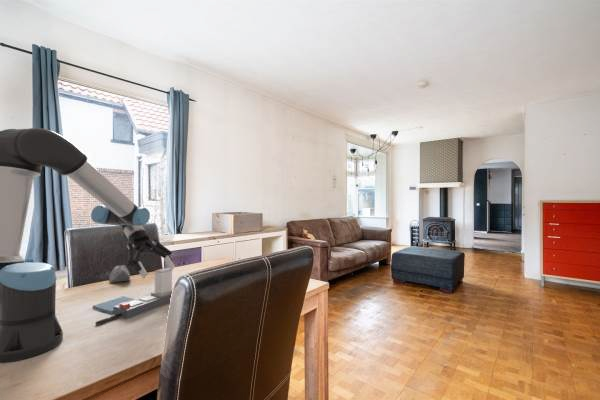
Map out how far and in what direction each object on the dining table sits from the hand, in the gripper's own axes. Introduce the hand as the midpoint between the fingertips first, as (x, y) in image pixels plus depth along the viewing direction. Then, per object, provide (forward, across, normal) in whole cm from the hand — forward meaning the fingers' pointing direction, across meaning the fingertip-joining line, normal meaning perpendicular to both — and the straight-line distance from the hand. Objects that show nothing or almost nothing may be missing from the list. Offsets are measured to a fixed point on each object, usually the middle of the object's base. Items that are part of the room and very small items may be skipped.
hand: (159, 272), depth 123 cm
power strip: (+10, +11, -5) cm, 16 cm away
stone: (-19, -9, -36) cm, 42 cm away
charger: (+8, +1, -3) cm, 9 cm away
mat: (+3, +13, -13) cm, 19 cm away
